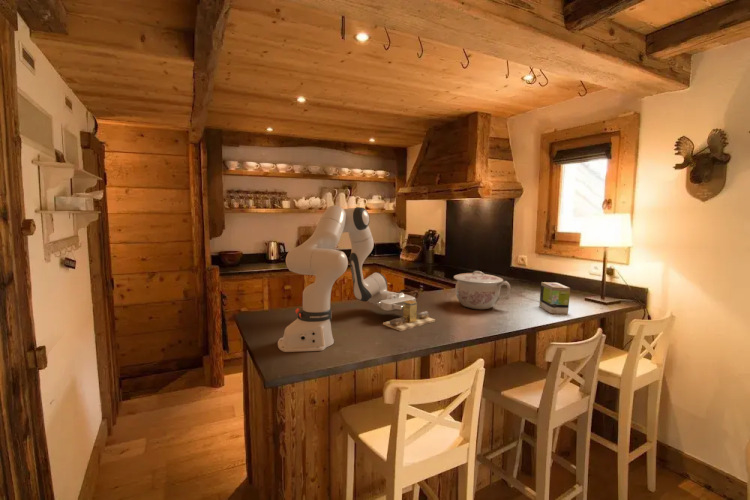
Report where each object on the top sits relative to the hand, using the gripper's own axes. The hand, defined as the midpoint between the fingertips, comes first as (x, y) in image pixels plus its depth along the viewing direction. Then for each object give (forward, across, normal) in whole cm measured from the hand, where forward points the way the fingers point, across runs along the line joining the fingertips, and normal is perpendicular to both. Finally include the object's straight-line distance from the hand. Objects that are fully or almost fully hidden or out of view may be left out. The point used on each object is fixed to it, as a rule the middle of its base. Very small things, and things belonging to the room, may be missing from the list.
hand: (409, 306), depth 180 cm
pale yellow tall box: (+1, 0, +7) cm, 7 cm away
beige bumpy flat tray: (+1, 0, +8) cm, 8 cm away
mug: (-20, +21, +8) cm, 30 cm away
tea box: (+33, +82, +9) cm, 89 cm away
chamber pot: (+3, +53, +8) cm, 53 cm away
